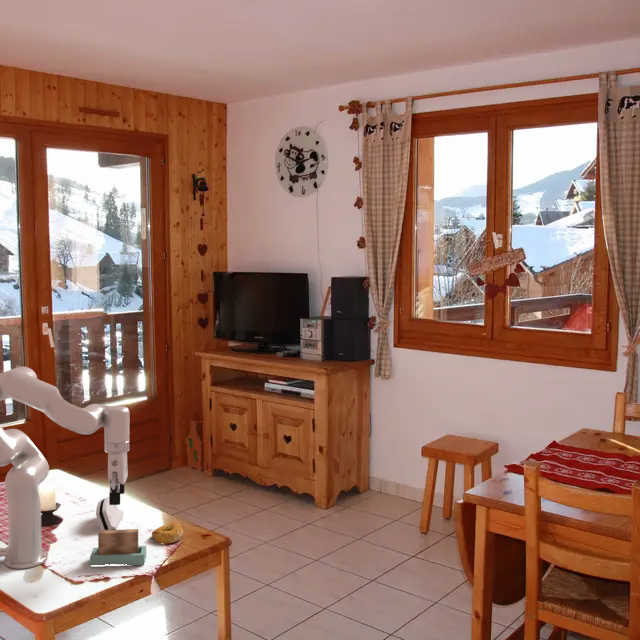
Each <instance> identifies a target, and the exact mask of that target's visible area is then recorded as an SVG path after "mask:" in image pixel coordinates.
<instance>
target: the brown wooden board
mask: <svg viewBox="0 0 640 640" xmlns="http://www.w3.org/2000/svg"><path fill="white" fill-rule="evenodd" d="M97 534H98V535H97V539H98V540H97V543H98V544H97V545H98V546H97V548H98V555H110V554H137V553H138V546H139V528H138V529H137V528H134V529H128V528H127V529H118V530H114V529H112V530H101V529H100V530H99V531H98V533H97Z"/></svg>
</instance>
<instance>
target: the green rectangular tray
mask: <svg viewBox="0 0 640 640" xmlns="http://www.w3.org/2000/svg"><path fill="white" fill-rule="evenodd" d="M145 559H147V545H138V553H137V554H110V555H98V547H93V548H92V551H91V553H90V555H89V566H90V565H105V564H109V565H110V564H124V565H125V564H127V565H144V566H145V564H144V563H146V560H145Z"/></svg>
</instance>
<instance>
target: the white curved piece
mask: <svg viewBox="0 0 640 640" xmlns="http://www.w3.org/2000/svg"><path fill="white" fill-rule="evenodd" d="M123 515H125V514H124V512H123V510H122V509H119V508H118V505H110V504H109V496H107V497H106V498H102V499H101V500H99V501H98V503H97V506H96V509H95V516H96V518H97V522H98V525H99V527H100V531H101V530H117V528H118V525H119V523H120V521H121V519H122V520H123V518H124V516H123ZM122 517H123V518H122ZM121 522H122V521H121ZM120 524H121V523H120ZM118 529H119V528H118Z"/></svg>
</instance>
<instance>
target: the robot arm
mask: <svg viewBox="0 0 640 640" xmlns="http://www.w3.org/2000/svg"><path fill="white" fill-rule="evenodd" d="M7 399H12V400H13V401H17V402H19V403H20V404H22V405H23V404H24V405H26V406H29V407H31V408H33V409H35V410H37V411H40V412H42V413H44V415H45V416H47V418H49V419H50V420H51V421H53V422H54V423H55V424H57V425H59V426H60V427H62V428H64V429H66V430H69V431H72V432H74V433H76V434H79V435H87V436H88V435H92V434H94V433H95V432H96V431H98V429H101V428H102V427H103V429H104V452H105V453H107V481H108V482H107V484H108V485H109V491H108V492H109V495H108V497H109V504H110V505H117V506H120V504H121V495H124V494H125V483H126V481H127V479H128V475H129V473H128V472H129V471H128V470H129V469H128V452H129V451H130V424H131V423H130V413H131V412H130V409H129V408H128V407H127V406H124V405H106V404H101V403H91V404H89V405H87V406H86V407H84V408H81V407H79V406H77V405H73V404H72V403H70V402H68V401H67V400H65V398H63V396H62V395H61V394H60V390H59V388H58V387H57V386H55V385H53V384H50V383H48V382H45V381H43V380H40V379H38V376H37V374H36V372H35V371H34V370H33V369H32V368H30V367H28V366H17V367H15V368H12V369H9V370H7V371H4V372H0V402H1V401H4V400H7ZM9 464H12V467H11V468H10V469H9V471H8V472H7V474H6V476H5V479H4V489H5V493H6V500H7V513H8V514H7V515H8V520H7V521H8V546H6V547H0V557H4V559H3V563H4V565H5V566H6V567H7V568H11V569H20V570H21V569H29V568H33V567H37V566H39V565H41V564H43V563H44V562H46V561H47V559H48V554H47V552H46V551H45V550H42V549H43V548H42V545H43V543H42V538H43V537H42V509H41V505H42V503H41V497H40V493H39V486H40V485H41V483H42V482H44V480H46V479H47V477H48V475H49V472H50V465H49V463H48V460H47V459H46V457H45V456H44V455H43V454H42V452H41V451H40V450H39V448H38V447H37V446H36V445H35V444H34V442H33V441H32V440H31V439H30V437H29V436H28V435H27V434H26V433H24V432H23V431H22V430H20V429H17V428H8V429H6V430H5V429H4V428H3V426H1V425H0V467H5V466H8V465H9Z"/></svg>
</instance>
